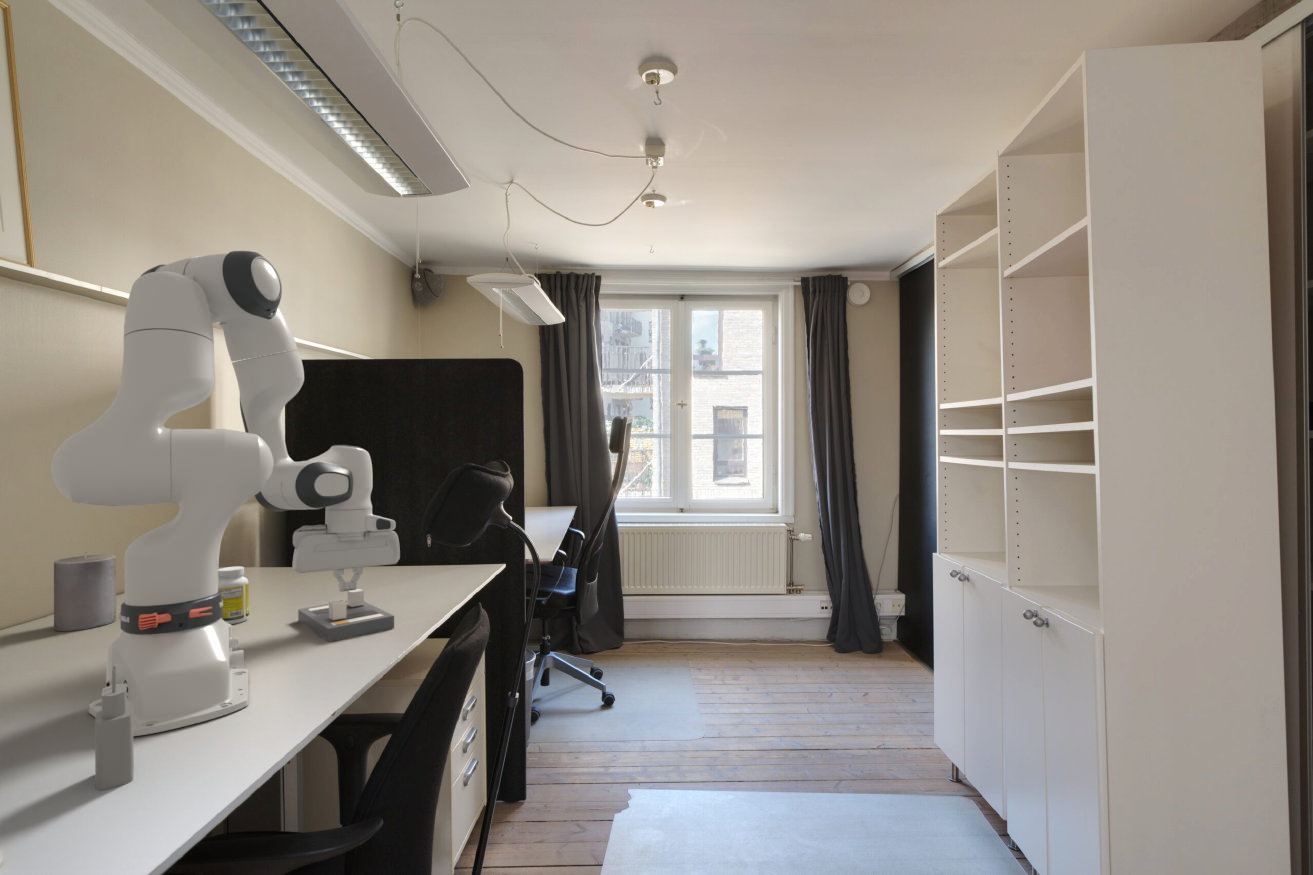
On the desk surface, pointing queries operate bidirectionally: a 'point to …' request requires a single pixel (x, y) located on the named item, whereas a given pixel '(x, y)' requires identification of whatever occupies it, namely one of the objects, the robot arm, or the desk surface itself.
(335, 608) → the front slider
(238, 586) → the pill bottle
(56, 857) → the desk surface
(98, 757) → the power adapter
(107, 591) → the pillar candle
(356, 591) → the rear slider
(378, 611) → the switch housing
